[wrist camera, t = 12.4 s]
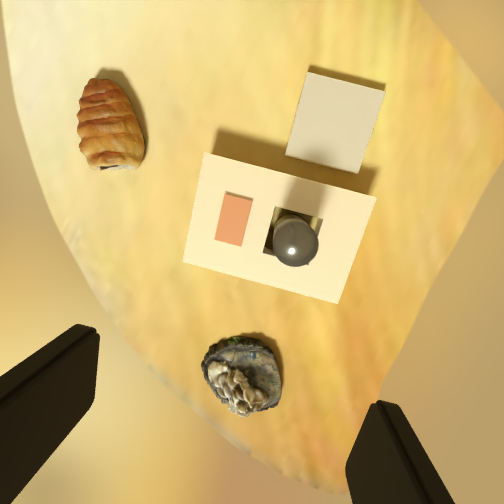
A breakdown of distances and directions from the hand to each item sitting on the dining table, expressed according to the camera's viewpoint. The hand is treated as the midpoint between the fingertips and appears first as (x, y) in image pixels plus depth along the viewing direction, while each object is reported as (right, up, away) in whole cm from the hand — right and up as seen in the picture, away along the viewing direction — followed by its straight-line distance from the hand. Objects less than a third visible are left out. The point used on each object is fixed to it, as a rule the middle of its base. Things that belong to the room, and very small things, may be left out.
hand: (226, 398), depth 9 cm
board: (+3, +8, +22) cm, 24 cm away
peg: (+5, +7, +22) cm, 24 cm away
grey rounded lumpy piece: (0, -11, +28) cm, 30 cm away
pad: (+9, +18, +19) cm, 28 cm away
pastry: (-15, +18, +22) cm, 32 cm away
